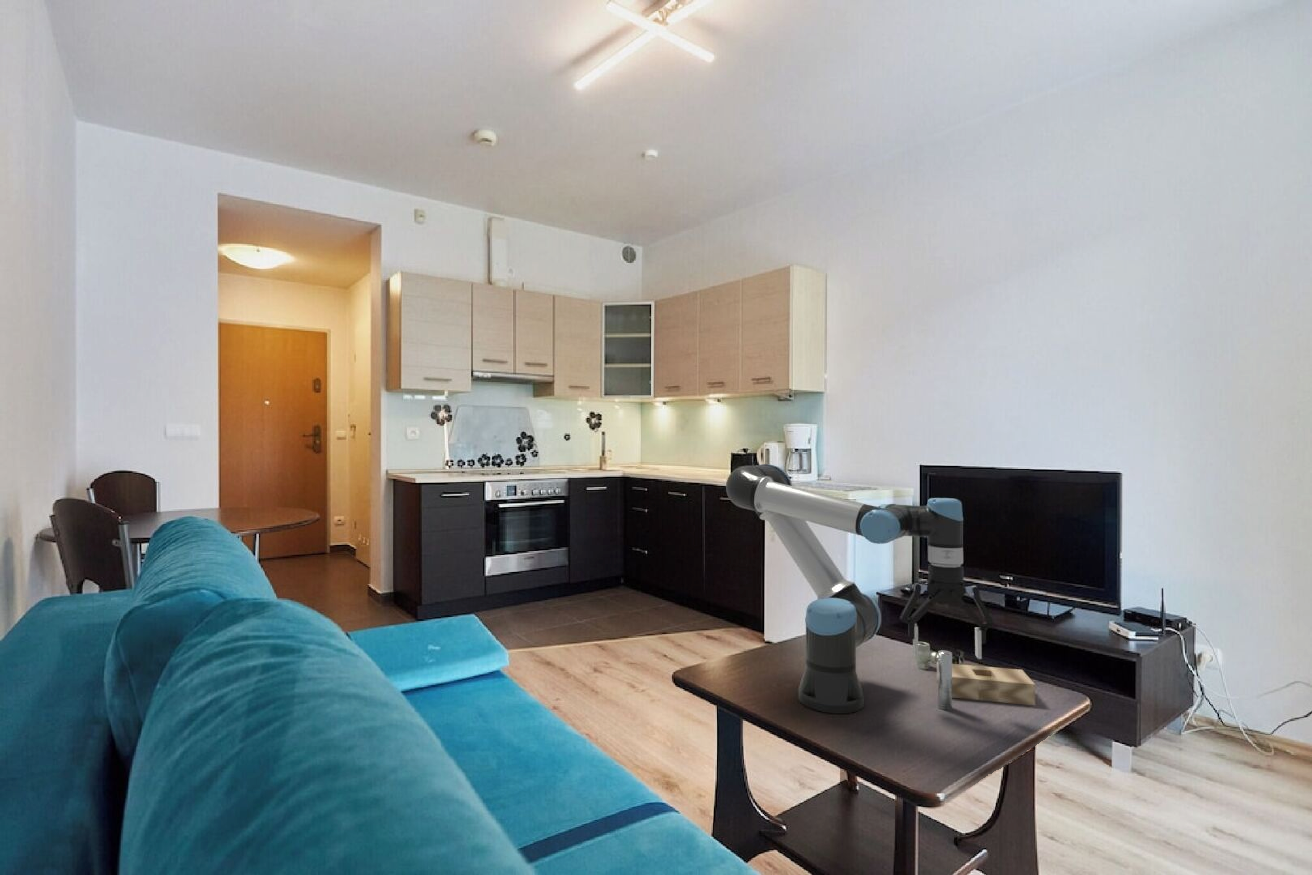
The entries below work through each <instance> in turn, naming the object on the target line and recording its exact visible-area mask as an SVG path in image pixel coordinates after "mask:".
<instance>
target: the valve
mask: <svg viewBox="0 0 1312 875" xmlns="http://www.w3.org/2000/svg"><path fill="white" fill-rule="evenodd" d="M930 651H931V646H930V643H928V642H926V641H918V655H917V654H914V653H913V654H914V656H913V657H914V659H915V661H914V662H915V663H914V664H915V665H914V666H915V667H916V668H917V669H921V670H929V669H930V668H931V667H930V664H935V665H937V663H938V652H935V651H932V652H930ZM930 662H931V663H930ZM964 662H965V658H964V652H963V651H962V650H956V654H955V656H952V664H960V665H964V664H963V663H964Z"/></svg>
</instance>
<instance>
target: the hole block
mask: <svg viewBox="0 0 1312 875" xmlns="http://www.w3.org/2000/svg"><path fill="white" fill-rule="evenodd" d="M936 683H937V684H938V662H937V663H936ZM953 698H954V699H964V700H965V699H966V700H972V701H973V700H974V701H985V702H993V703H994V702H996V703H1005V704H1006V703H1007V704H1016V705H1017V704H1018V705H1027V706H1036V684H1035V682H1034V681H1033V680H1032V679H1031V678H1030V677H1029V676H1028V675H1027V673H1026V672H1025V671H1024V670H1023V669H1017V668H1005V667H994V666H984V665H983V666H982V665H969V664H962V665H960V664H952V699H953Z"/></svg>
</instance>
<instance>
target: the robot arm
mask: <svg viewBox="0 0 1312 875" xmlns="http://www.w3.org/2000/svg"><path fill="white" fill-rule="evenodd" d="M725 488H726V489H725V491H726V495H727V497H728V499H729V500H730V501H731V502H732V504H734V505H735V506H736V507H739V508H741V509H746V510H751V511H754V512H755V513H756V515H757V516H758V517H759V519H760V520H763V521H767V522H768V523H769V525H770V526H771V528H772V529H773V531H774V532H775V533H776V535H777V537H778V538H779V540H780V542H781V543H782V544H783V546H784V548H785V549H786V550H787V552H788V554H789V555H790V557H791V558H792V560H793V561H794V563H795V565H796V566H797V567H798V569H799V571H800V572H801V573H802V575H803V577H804V578H805V580H806V581H807V583H808V584H809V586H810V588H811V589H812V590H813V592H814V594H815V595H816V597H817V599H816V600H813V601H812V602H810V603H809V604H808V606H807V608H806V613H805V614H806V615H805V618H804V621H805V669H804V671H803V673H802V676H801V680H800V682H799V686H798V690H797V691H798V693H797V694H798V696H797V698H798V700H799V702H800V703H801V704H802V705H804V706H806V707H807V708H809V709H812V710H815V711H819V712H823V713H828V714H841V715H842V714H850V713H851V714H852V713H855V712H858V711H859V710H861V709H862V708H863V707H864V703H865V702H864V693H863V690H862V685H861V683H860V680H859V677H858V674H857V662H856V661H857V648H858V647H859V646H860V645H862V644H863V643H866V642H868V641H870V640H871V639H872V638H873V637H874V636H875V635H876V634H877V633H878V631H879V629H880V627H881V624H882V613H881V610H880V607H879V605H878V603H877V602H876V601H875V600H874V598H872V597H871V596H870V595H868V594H865V593H862V592H861V590H860V588H858V585H857V584H856V583H855V582H853V581H851V580H847V579H846V578H845V577H844V576H843V574H842V572H841V571H840V569H839V568H838V567H837V565H836V564H835V563H834V561H833V559H832V558H831V557H830V555H829V553H828V552H827V550H826V549H825V548H824V546H823V545H822V544H821V542H820V540H819V539H818V537H817V536H816V534H815V533H814V532H813V530H812V528H811V527H810V526H809V524H808V523H807V522H810V523H813V524H817V525H821V526H824V527H828V528H832V529H835V530H839V531H842V532H847V533H850V534H854V535H857V536H861V537H864V539H866V540H867V541H868V542H870V543H872V544H875V545H876V544H877V545H878V544H881V545H882V544H883V545H884V544H888V543H891V542H893V541H895V540H896V539H900V538H903V537H914V538H915V537H917V538H927V546H928V547H927V548H928V549H927V553H928V555H927V561H928V562H929V564H928V568H927V570H928V571H927V572H928V582H927V584H923V583H922V584H921V583H919V582H915V583H914V584H913V592H912V594H911V595H910V597H909V599H908V601H907V603H906V604H905V606H904V608H903V609H902V612H901V614H900V615H899V620H900V621H901V623H902V624H903V623H904V624H907V628H908V629H907V634H908V638H909V639H910V640H912V651H913V654H917V655H918V642H919V626H918V624H917V623H918V621H919V620H921V618H922V617H924V616H925V614H926V613H927V612H928V611H929V610H930V609H931V608H932V607H933V606H934V605H935V604H936V603H937V604H938V605H950V606H955V605H956V604H958V605H959V606H960V607H961V608H962V609H963V610H964V611H965V613H966V614H967V615H968V616H969V617H970V618H971V619H972V621H973V622H975V624H976V625H977V626H978V627H974V647H975V648H974V653H975V654H974V655H975V657H976V658H977V659H978V660H982V658H983V656H982V645H983V644H984V645H985V644H987V631H988V630H989V629H994V628H995V627H996V624H995V622H994V620H993V618H992V616H991V615H990V613H989V611H988V609H987V607H986V605H985V603H984V602H983V600H982V599H981V596H980V590H979V588H978V586H977V585H975V584H973V585H972V584H971V586H965V583H964V581H965V580H964V566H962V565H963V564H964V540H963V539H964V537H963V535H964V526H963V525H964V517H963V504H962V501H961V500H959V499H957V498H952V497H950V498H948V497H930V498H929V499H928V500H927V504H926V505H910V504H909V505H907V504H896V503H887V504H886V503H882V504H879V505H878V506H875V505H871V504H870V505H869V504H867V503H862V502H859V501H854V500H850V499H846V498H844V497H843V498H842V497H838V496H834V495H829V494H827V493H826V494H825V493H822V492H817V491H813V490H809V489H805V488H801V487H796V486H793V485H792V480H791V478H790V476H789V474H788V473H787V471H785V470H784V469H783V468H782V467H780V466H778V465H773V464H769V463H768V464H767V463H764V464H758V465H757V464H756V465H742V466H739V467H738V468H735V469H734V470H733V471H731V473H730V474H729V475H728V478H727V479H726V484H725ZM925 591H927V593H929V595H928V597H926V599H925V600H924V602H923V603H922V604H921V605H920V606H919V607H918V608H917V609H916V610H915V611H914V613H913V614H912V615H911V613H912V611H913V610H914V607H915V606H916V604H917V603H918V601H919V598H920V597H921V594H924V592H925ZM966 593H968V595H969V596H970V597H972V599H973V600H974V602H975V604H976V606H977V608H978V609H979V611H980V614H981V615H982V618H983V619H984V621H982V620H981V619H980V618H979V616H977V614H975V612H974V610H972V609H971V607H970V606H968V604H967V603H966V602H965V601H964V599H962V598H963V597H964V596H965V594H966ZM910 615H911V616H910Z"/></svg>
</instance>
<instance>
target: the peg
mask: <svg viewBox="0 0 1312 875" xmlns="http://www.w3.org/2000/svg"><path fill="white" fill-rule="evenodd" d="M937 654H938V662H937V663H938V683H937V708H938V709H939V710H942V711H947V712H948V711H952V710H953V697H952V658H953V652H951V651H950V650H943V649H941V650H938V651H937Z"/></svg>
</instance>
